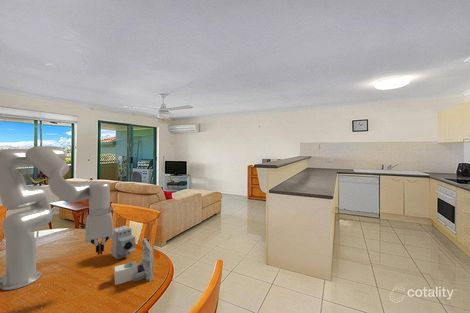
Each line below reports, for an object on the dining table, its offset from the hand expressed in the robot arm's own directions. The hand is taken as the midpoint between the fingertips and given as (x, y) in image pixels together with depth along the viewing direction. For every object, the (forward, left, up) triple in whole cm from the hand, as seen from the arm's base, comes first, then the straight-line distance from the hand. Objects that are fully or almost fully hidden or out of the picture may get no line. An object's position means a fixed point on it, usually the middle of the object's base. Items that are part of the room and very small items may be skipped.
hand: (99, 253), depth 89 cm
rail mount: (+17, 0, -15) cm, 22 cm away
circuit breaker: (+12, +24, -15) cm, 31 cm away
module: (+10, 0, -15) cm, 18 cm away
